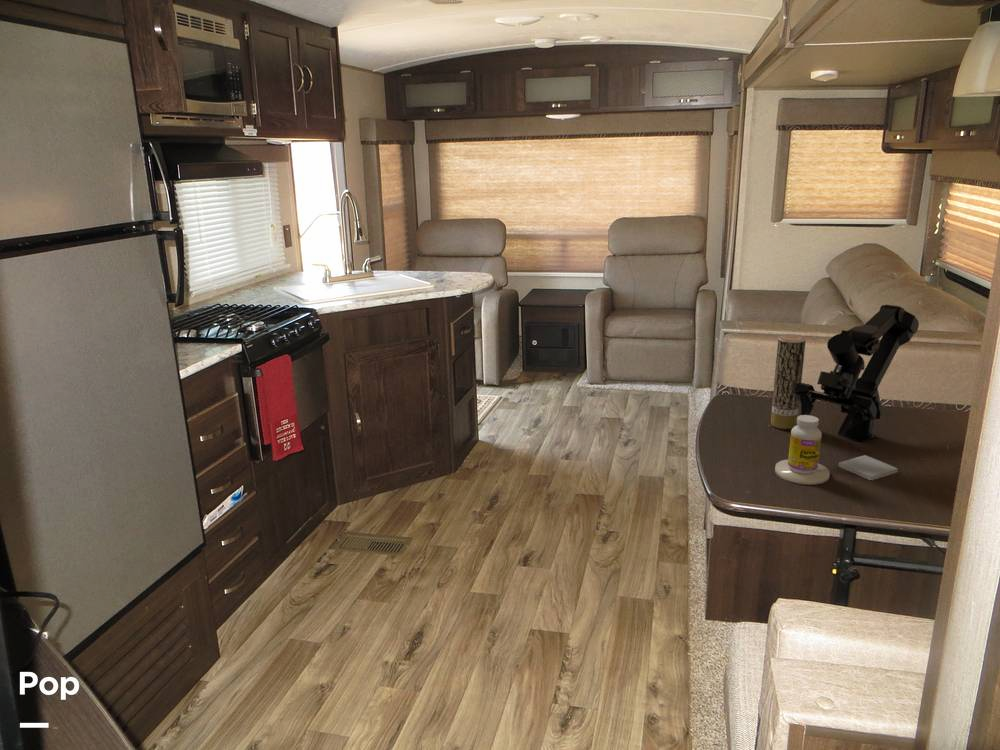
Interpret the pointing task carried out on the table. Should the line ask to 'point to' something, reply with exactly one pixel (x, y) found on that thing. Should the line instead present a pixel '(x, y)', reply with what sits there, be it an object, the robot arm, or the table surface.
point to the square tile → (868, 467)
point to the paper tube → (787, 380)
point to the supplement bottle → (805, 445)
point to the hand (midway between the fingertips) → (820, 430)
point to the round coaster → (807, 479)
